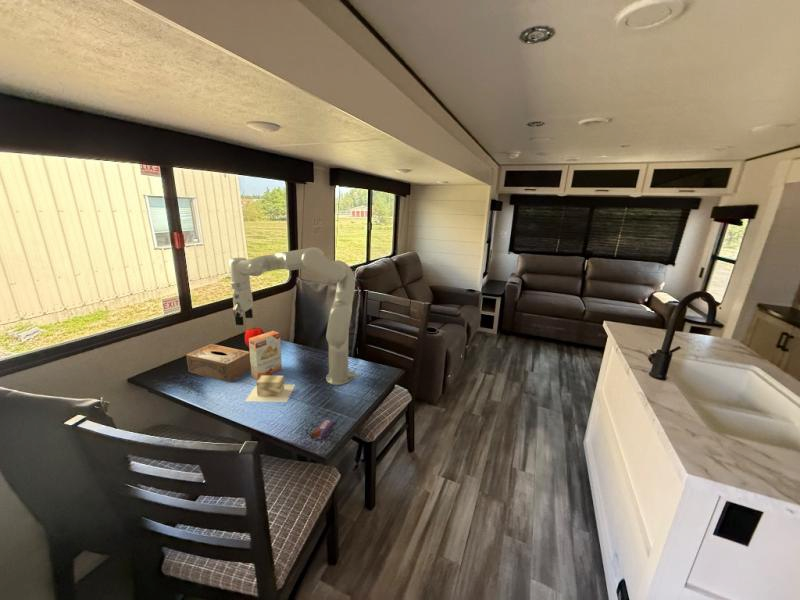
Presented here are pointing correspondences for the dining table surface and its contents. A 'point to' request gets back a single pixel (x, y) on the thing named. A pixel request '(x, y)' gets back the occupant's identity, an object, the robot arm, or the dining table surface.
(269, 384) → the maple block
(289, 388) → the mat
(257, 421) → the dining table surface
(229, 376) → the tissue box cover
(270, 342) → the cracker box
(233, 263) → the robot arm
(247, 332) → the tomato
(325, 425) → the snack package
